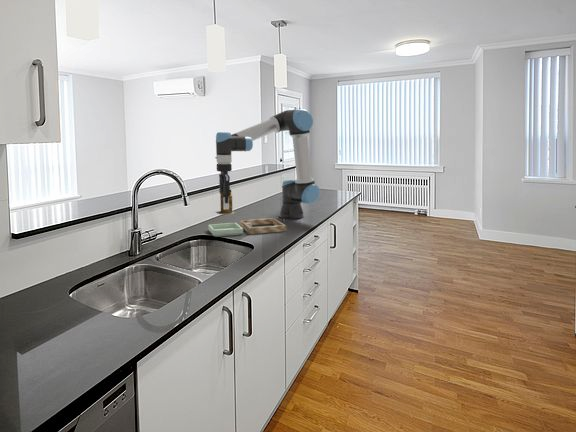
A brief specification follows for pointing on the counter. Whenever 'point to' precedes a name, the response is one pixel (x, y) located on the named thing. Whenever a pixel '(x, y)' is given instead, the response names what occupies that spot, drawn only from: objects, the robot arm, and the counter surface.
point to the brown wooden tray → (263, 229)
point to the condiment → (223, 206)
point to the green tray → (225, 229)
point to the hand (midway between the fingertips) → (224, 208)
